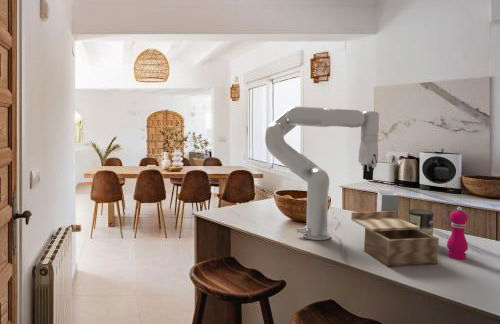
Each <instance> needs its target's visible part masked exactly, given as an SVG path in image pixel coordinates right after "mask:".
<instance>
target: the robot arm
mask: <svg viewBox="0 0 500 324" xmlns="http://www.w3.org/2000/svg"><path fill="white" fill-rule="evenodd" d="M379 122H380V113H379V112H378V111H374V110H373V111H370V110H369V111H361V110H359V109H345V108H344V109H341V108H328V107H311V106H291V107H289V108H288V109H287V110H286V111H285V112H284V113H283V114H281V115H280V116H279V117H278V118H276V119H275V120H273V122H271V123H270V124H269V125H267V127H266V130H265V137H264V138H265V139H264V140H265V141H264V142H265V146H266V148H267V150H268V152H269V153H270V154H271V155H272V156H273V157H274V158H275V159H276V160H277V161H279V162H280V163H281V164H282V165H284V166H285V167H286V168H288V169H289V171H290V172H291V173H293V174H295V175H296V176H298V177H299V178H300V179H301V180H303V181H304V182H306V183H307V192H306V222H305V223H306V225H304V226H303V227H301V228H300V227H297V228H296V229H295V231H296V232H295V233H297V234H298V233H299V234H302V237H303V238H304V239H308V240H313V241H325V240H328V239H331V234H330V232H328V210H329V209H328V208H329V190H330V176H329V175H328V173H327V171H326V170H325V169H322V168H321V167H320V166H318V165H317V164H316V163H314V162H313V161H312V160H310V159H309V158H308V157H307V156H305V155H304V154H302V153H300V152H299V151H298V150H296V149H294V147H292V146H291V145H290V144H288V143H287V142H286V140H285V136H286V135H287V134H288V133H289V132H291V131H292V130H293V129H294V128H296V127H297V126H299V127H300V126H302V127H315V128H316V127H319V128H327V127H343V128H344V127H345V128H346V127H347V128H351V129H353V128H356V129H357V128H360V144H359V151H358V163H359V164H360V165H361V166H362V180H366V181H373V180H374V171H375V168H377V164H378V163H379Z"/></svg>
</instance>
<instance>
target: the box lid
mask: <svg viewBox="0 0 500 324" xmlns="http://www.w3.org/2000/svg"><path fill="white" fill-rule="evenodd" d="M350 217H351V221H352V222H354V223H356V224H358V225H359V226H362V227H363V228H364V229H365V228H367V229H369V230H371V231H393V230H416V229H419V227H418V226H416V225H414V224H411V223H409V221H406V220H403V219H401V218H399V217H398V218H397V217H396V211H377V210H376V211H352V212H351V215H350Z"/></svg>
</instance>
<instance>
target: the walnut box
mask: <svg viewBox="0 0 500 324" xmlns="http://www.w3.org/2000/svg"><path fill="white" fill-rule="evenodd" d="M439 242H440V241H439V237H437V236H434V235H433V236H432V235H430V234H427V233H425V232H423V231H420V230H418V229H416V230H393V231H371V230H369V229H367V228H365V227H364V245H363V246H364V247H363V249H364V250H363V251H364V252H365V253H366V254H368V255H370V256H371V257H372V258H374V259H375V260H376V261H378V262H379V263H381V264H382V265H384V266H385V267H387V268H394V267H411V266H413V267H414V266H426V265H438V261H439V260H438V259H439V257H438V256H439Z"/></svg>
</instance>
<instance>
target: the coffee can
mask: <svg viewBox="0 0 500 324" xmlns="http://www.w3.org/2000/svg"><path fill="white" fill-rule="evenodd" d="M434 219H435V212H434V211H431V210H428V209H417V208H415V209H412V208H411V209H409V210H408V222H409V223H411V224H414V225H416V226H418V227H419V229H418V230H420V231H423V232H425V233H427V234H430V235H432V236H434V222H435V220H434Z"/></svg>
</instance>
